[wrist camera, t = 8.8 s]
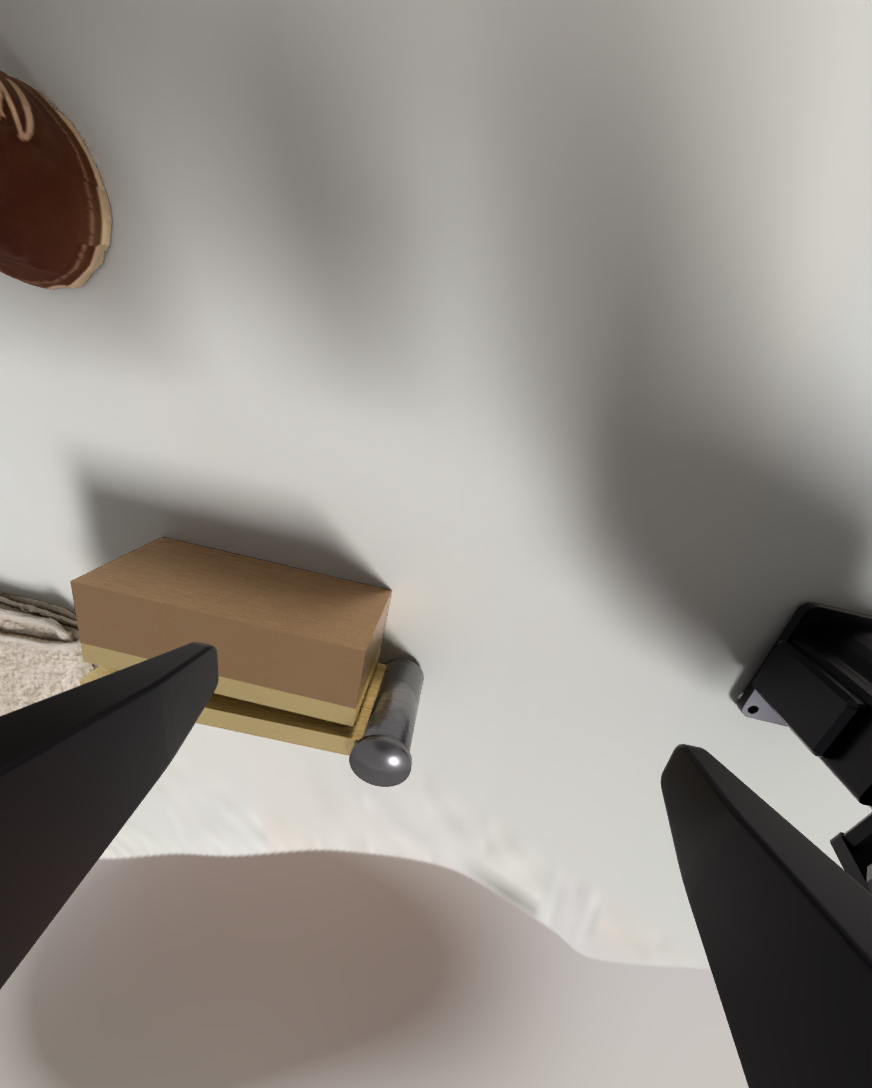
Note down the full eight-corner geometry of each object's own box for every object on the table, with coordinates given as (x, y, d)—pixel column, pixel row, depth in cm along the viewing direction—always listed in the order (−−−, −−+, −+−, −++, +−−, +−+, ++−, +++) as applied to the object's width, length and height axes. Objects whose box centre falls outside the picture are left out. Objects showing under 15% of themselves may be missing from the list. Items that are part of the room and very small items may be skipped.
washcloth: (113, 607, 23) (61, 638, 20) (137, 811, 30) (101, 856, 27) (-83, 559, 24) (-161, 583, 21) (-15, 772, 30) (-67, 813, 28)
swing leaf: (430, 661, 21) (415, 748, 16) (423, 699, 22) (406, 792, 17) (161, 606, 22) (65, 674, 17) (165, 646, 23) (75, 720, 18)
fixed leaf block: (391, 590, 20) (365, 651, 16) (379, 654, 22) (352, 726, 17) (162, 536, 21) (70, 581, 16) (166, 603, 22) (83, 661, 18)
